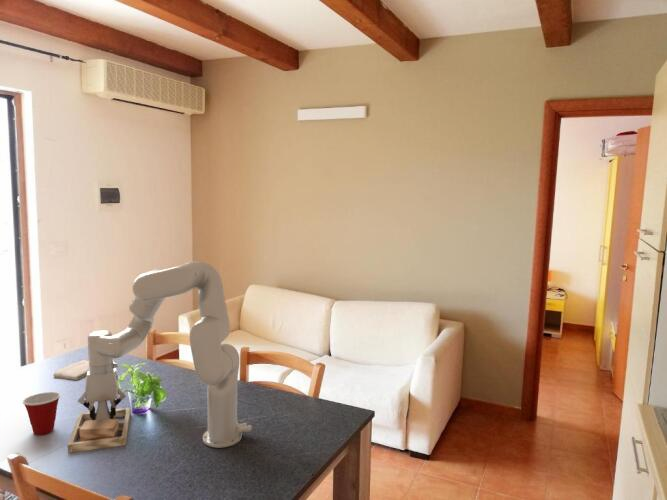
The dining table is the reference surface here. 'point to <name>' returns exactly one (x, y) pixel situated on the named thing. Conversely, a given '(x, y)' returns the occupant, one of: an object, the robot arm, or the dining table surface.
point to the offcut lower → (98, 437)
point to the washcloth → (73, 371)
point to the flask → (102, 411)
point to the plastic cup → (42, 411)
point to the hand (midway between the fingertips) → (103, 418)
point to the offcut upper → (99, 428)
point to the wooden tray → (99, 443)
